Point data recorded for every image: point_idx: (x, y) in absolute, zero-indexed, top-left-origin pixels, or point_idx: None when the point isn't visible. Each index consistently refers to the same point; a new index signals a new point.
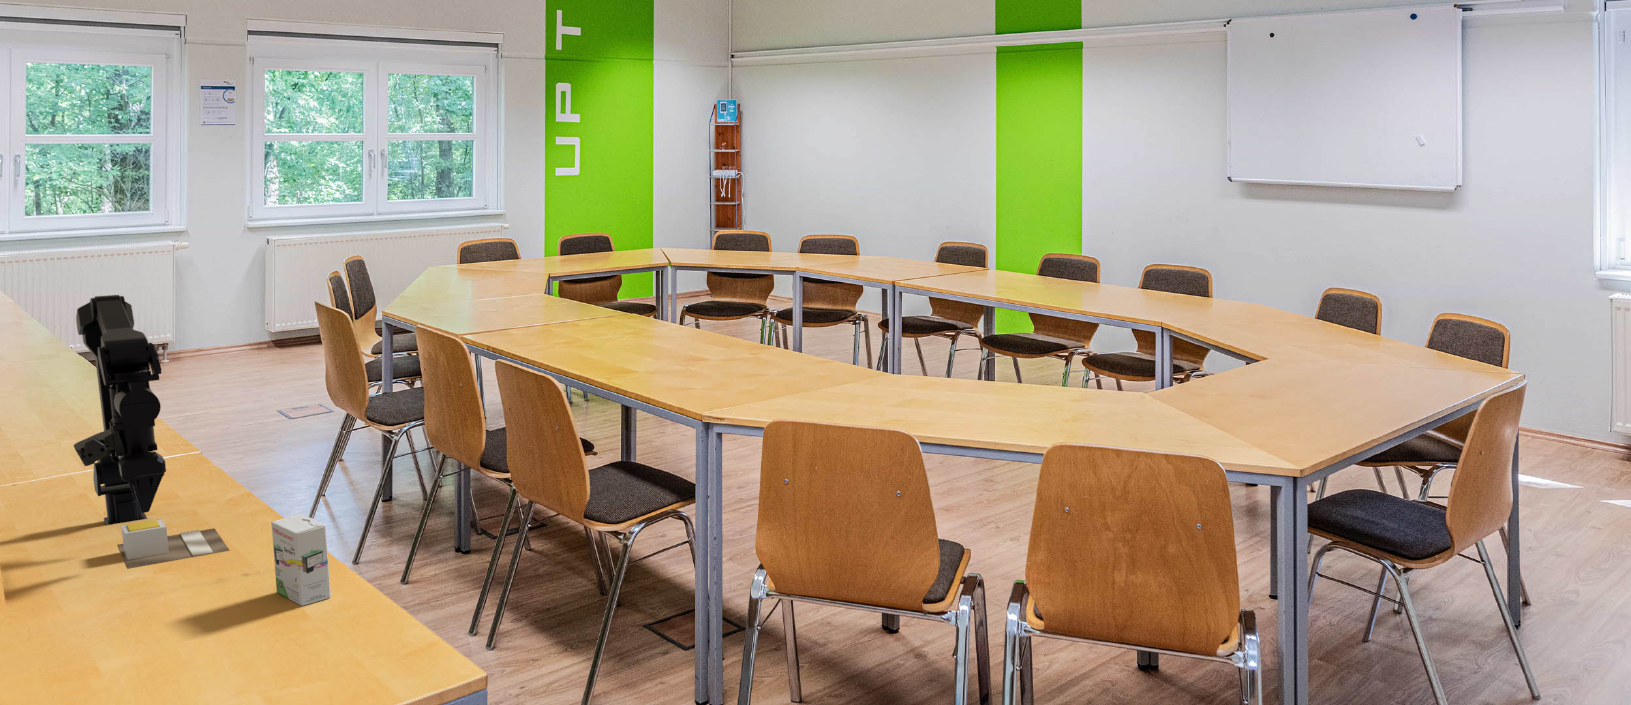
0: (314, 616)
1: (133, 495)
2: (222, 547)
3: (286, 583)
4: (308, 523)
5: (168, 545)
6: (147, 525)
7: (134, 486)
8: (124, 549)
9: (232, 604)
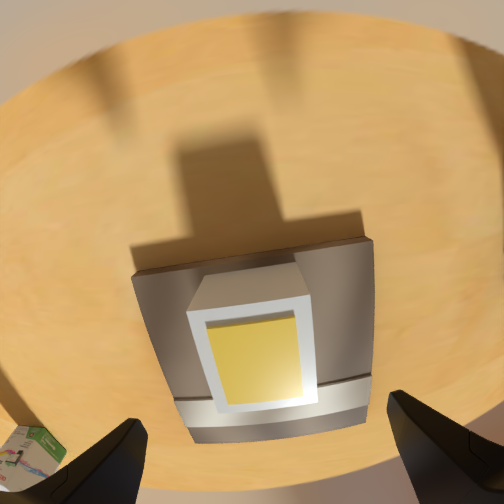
0: (3, 421)
1: (395, 401)
2: (218, 438)
3: (21, 437)
4: None
5: None
6: (248, 377)
7: (27, 491)
8: (273, 269)
9: (13, 385)
